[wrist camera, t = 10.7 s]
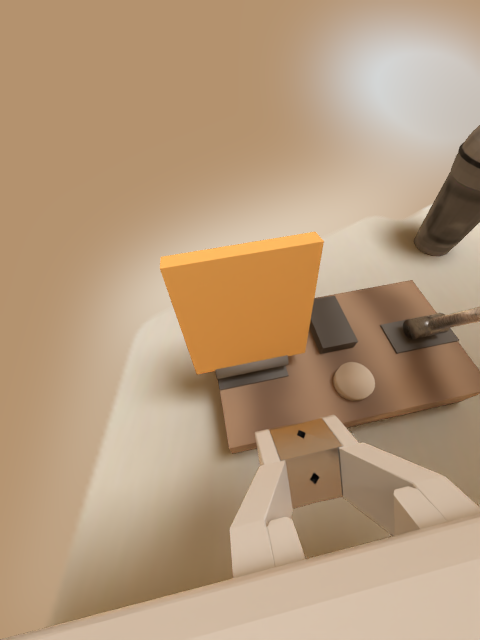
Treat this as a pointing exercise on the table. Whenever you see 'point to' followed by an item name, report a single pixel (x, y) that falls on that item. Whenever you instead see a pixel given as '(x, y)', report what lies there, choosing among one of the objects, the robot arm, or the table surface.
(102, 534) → the table surface
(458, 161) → the beverage cup
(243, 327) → the orange paddle
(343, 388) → the control panel
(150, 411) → the table surface
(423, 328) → the steel toggle lever
